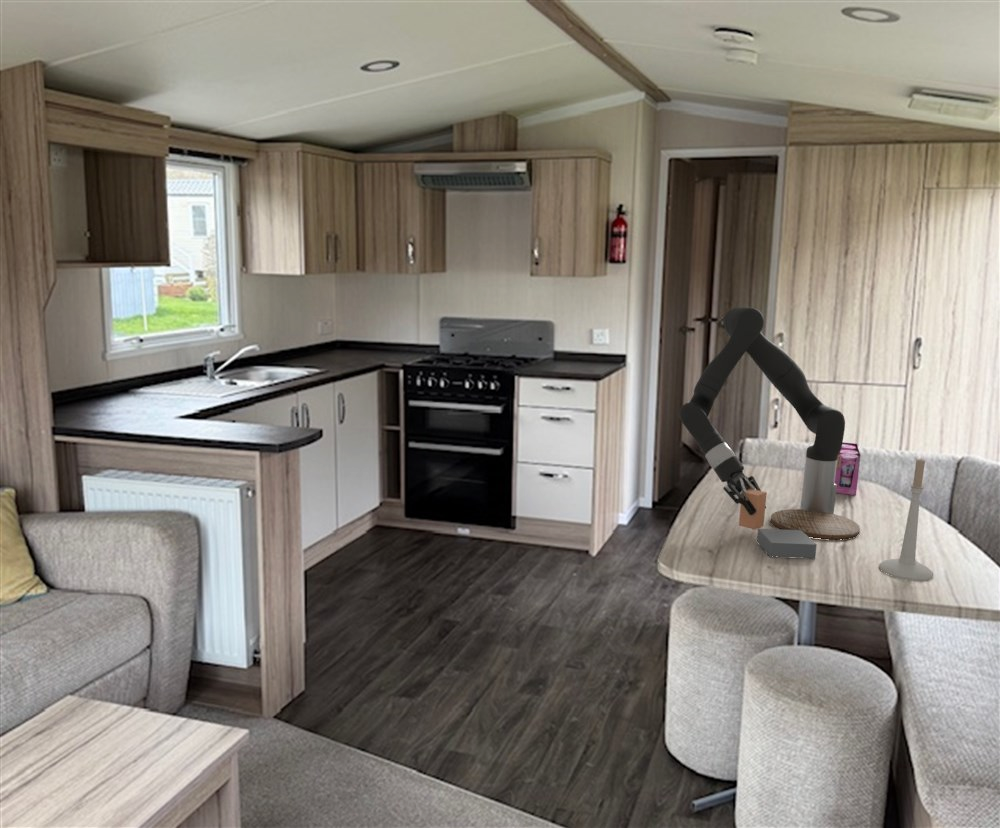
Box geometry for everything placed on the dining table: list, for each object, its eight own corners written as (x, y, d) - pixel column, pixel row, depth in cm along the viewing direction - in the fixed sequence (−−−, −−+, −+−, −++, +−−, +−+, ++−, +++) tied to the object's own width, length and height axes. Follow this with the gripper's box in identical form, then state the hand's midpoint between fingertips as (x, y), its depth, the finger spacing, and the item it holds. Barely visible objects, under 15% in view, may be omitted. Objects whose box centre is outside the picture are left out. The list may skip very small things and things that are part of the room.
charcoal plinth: (799, 544, 251) (801, 530, 250) (815, 558, 239) (816, 544, 239) (756, 542, 251) (758, 528, 250) (769, 557, 239) (771, 542, 238)
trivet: (866, 545, 254) (867, 538, 253) (774, 536, 258) (774, 529, 258) (851, 519, 278) (851, 513, 278) (766, 511, 283) (767, 505, 282)
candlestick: (887, 559, 242) (901, 449, 236) (939, 571, 234) (954, 458, 228) (872, 571, 232) (886, 457, 226) (925, 584, 224) (941, 467, 218)
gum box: (856, 496, 304) (861, 457, 301) (831, 493, 306) (836, 454, 304) (853, 480, 326) (858, 443, 324) (830, 477, 329) (834, 441, 326)
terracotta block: (747, 522, 261) (750, 488, 259) (763, 526, 258) (766, 492, 256) (738, 525, 257) (741, 491, 255) (754, 529, 254) (758, 495, 252)
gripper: (720, 458, 254) (755, 509, 248) (745, 451, 264) (780, 500, 258) (702, 473, 258) (736, 523, 252) (728, 465, 269) (761, 513, 263)
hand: (758, 511), depth 255 cm, fingers closed on terracotta block, 5 cm apart
